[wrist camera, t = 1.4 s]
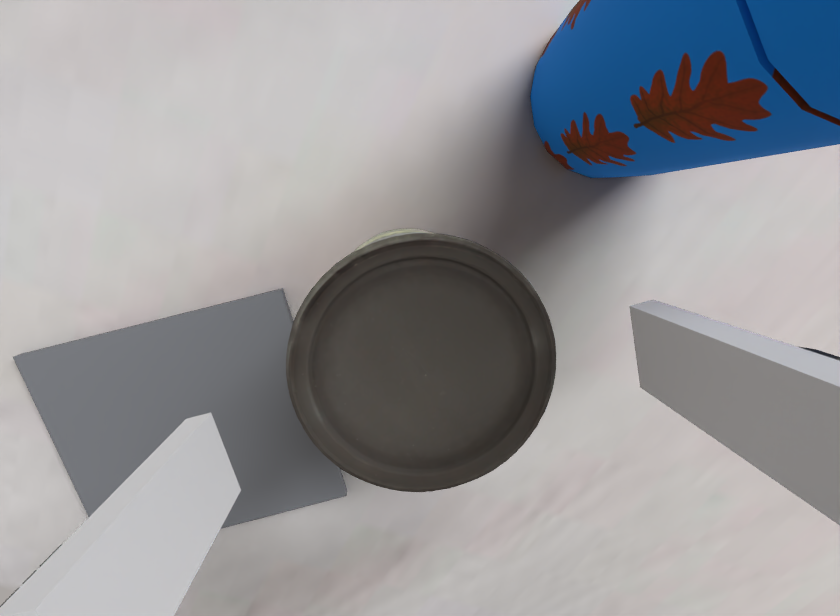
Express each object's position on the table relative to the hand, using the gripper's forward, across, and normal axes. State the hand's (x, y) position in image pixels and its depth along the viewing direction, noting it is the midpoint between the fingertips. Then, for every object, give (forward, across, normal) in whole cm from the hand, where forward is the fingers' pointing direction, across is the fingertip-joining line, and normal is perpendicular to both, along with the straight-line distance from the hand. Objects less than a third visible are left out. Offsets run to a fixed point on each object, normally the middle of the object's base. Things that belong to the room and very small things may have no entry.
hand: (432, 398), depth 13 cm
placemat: (+17, +17, +5) cm, 25 cm away
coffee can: (+17, 0, 0) cm, 17 cm away
